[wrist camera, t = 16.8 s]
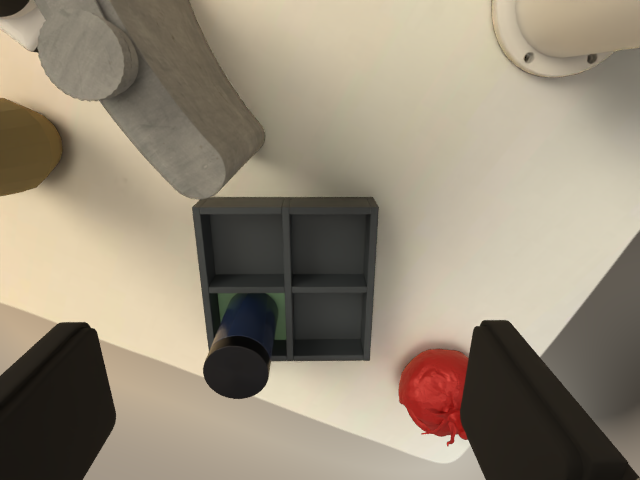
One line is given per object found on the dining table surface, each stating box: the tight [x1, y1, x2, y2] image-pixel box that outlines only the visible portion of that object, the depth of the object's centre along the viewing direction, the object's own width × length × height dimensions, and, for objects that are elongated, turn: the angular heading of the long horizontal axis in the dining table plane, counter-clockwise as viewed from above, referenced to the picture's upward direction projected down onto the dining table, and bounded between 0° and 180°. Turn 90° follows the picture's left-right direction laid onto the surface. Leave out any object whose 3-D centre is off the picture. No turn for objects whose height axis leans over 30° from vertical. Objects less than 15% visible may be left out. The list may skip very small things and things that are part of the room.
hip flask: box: [34, 0, 265, 199], centre depth 26 cm, size 16×4×20 cm, turn 28°
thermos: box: [203, 293, 279, 399], centre depth 38 cm, size 6×6×10 cm
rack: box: [192, 197, 379, 361], centre depth 41 cm, size 17×17×4 cm
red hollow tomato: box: [399, 349, 469, 446], centre depth 43 cm, size 10×10×9 cm
